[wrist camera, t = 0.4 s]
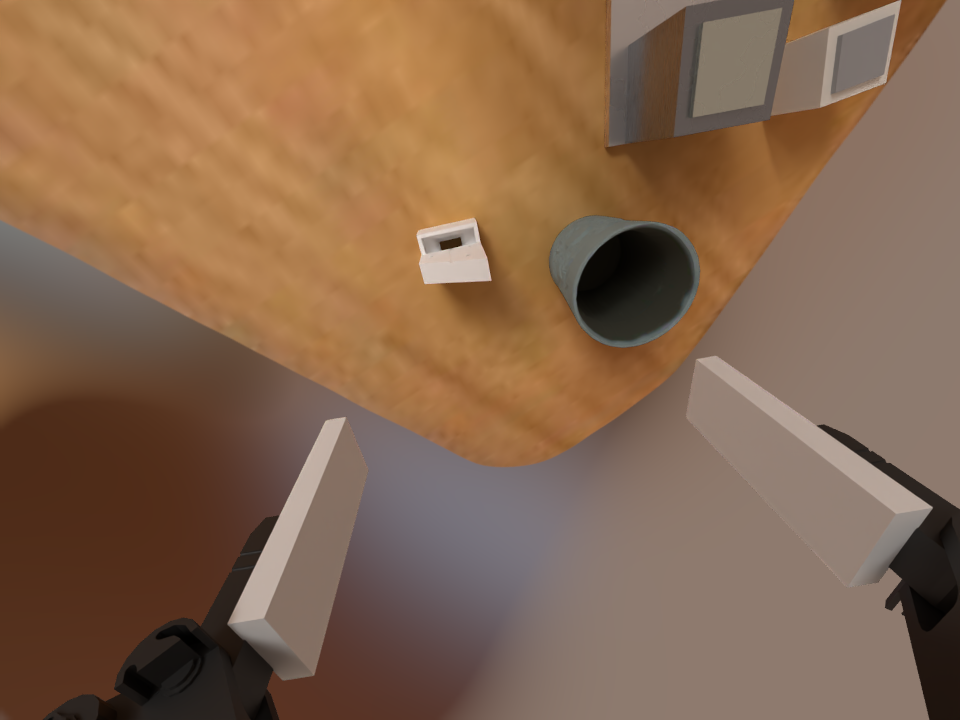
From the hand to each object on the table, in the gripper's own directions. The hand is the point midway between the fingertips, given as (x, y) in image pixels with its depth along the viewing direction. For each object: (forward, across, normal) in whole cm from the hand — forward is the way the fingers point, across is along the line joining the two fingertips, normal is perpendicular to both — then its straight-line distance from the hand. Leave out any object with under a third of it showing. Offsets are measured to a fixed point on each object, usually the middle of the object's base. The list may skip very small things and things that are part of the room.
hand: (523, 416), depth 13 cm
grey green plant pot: (+27, +12, -2) cm, 30 cm away
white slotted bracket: (+28, -2, +2) cm, 28 cm away
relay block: (+27, +30, +11) cm, 42 cm away
